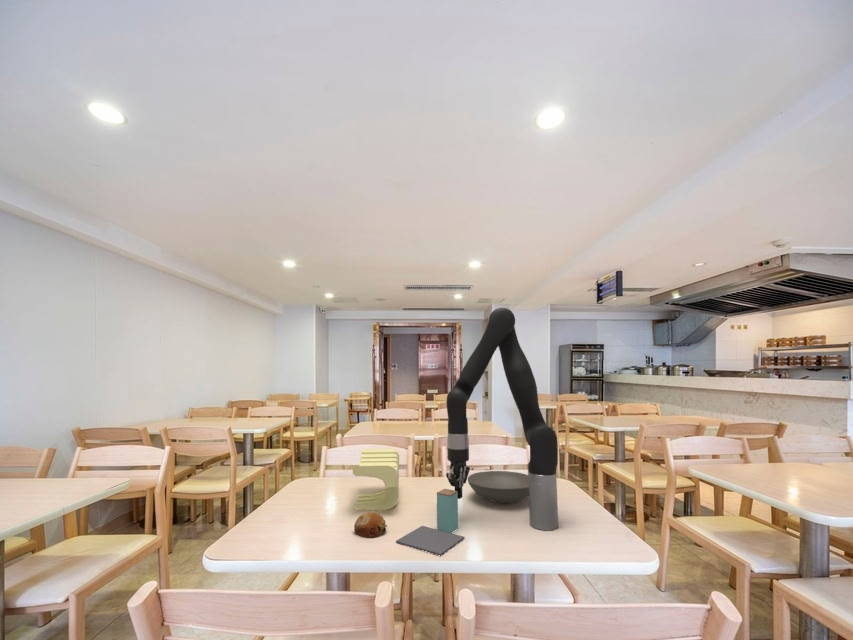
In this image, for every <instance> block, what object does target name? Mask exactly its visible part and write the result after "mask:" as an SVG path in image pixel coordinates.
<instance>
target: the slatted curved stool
mask: <svg viewBox="0 0 853 640" xmlns="http://www.w3.org/2000/svg"><path fill="white" fill-rule="evenodd" d="M358 464H359V465H354V466H353V465H352V475H353V476H355V477H368V478H376V479H378V480H381V481H382V482H383V484H384V487H385V488H386V489H384V490H383V491H379V492H375V493H366V494H365V493H364V494H358V496H357V499H356V502H355V508H354V510H355V509H375V510H390V509H393V508H394V507H395V506H396V505H397V503H398V500H399V490H400V487H399V478H400V477H399V476H400V475H399V474H400V473H399V471H400V453H398V451H397V450H396V449H394V448H362V449H361V454H360V460H359V463H358Z"/></svg>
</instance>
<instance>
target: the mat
mask: <svg viewBox="0 0 853 640" xmlns="http://www.w3.org/2000/svg"><path fill="white" fill-rule="evenodd" d="M464 538H465V539H466V537H465V536H463V535H459V534H456V533H448V532H445V531H441V530H437V528H433V527H428V526H425V525H421V526H419V527H417V528H416V529H414V530H412V531H410V532H409V533H407V534H405V535H403V536H402V537H400V538H399V539H396V540H395V543H396V544H398V543H399V544H398V545H403V546H405V545H406V546H405V547H408V546H409V547H408V548H411V547H413V548H412V549H415V548H416V549H415V550H418V549H420V550H419V551H421V550H424V551H423V552H425V551H427V552H426V553H428V552H430V553H429V554H431V553H433V554H432V555H435V554H437V555H436V556H438V555H440V556H439V557H442V556H444V553H445V552H446V553H448V552H449V551H450V550H451V548H452V547H453V548H454V547H456V546H457V545H458V544H460V543H461V542H463V541H464V540H465V539H464ZM463 539H464V540H463ZM460 541H461V542H460ZM459 542H460V543H459ZM457 543H458V544H457ZM456 544H457V545H456ZM455 545H456V546H455ZM453 548H452V549H453ZM449 549H450V550H449ZM448 550H449V551H448ZM446 553H445V554H446ZM441 555H442V556H441Z"/></svg>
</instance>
